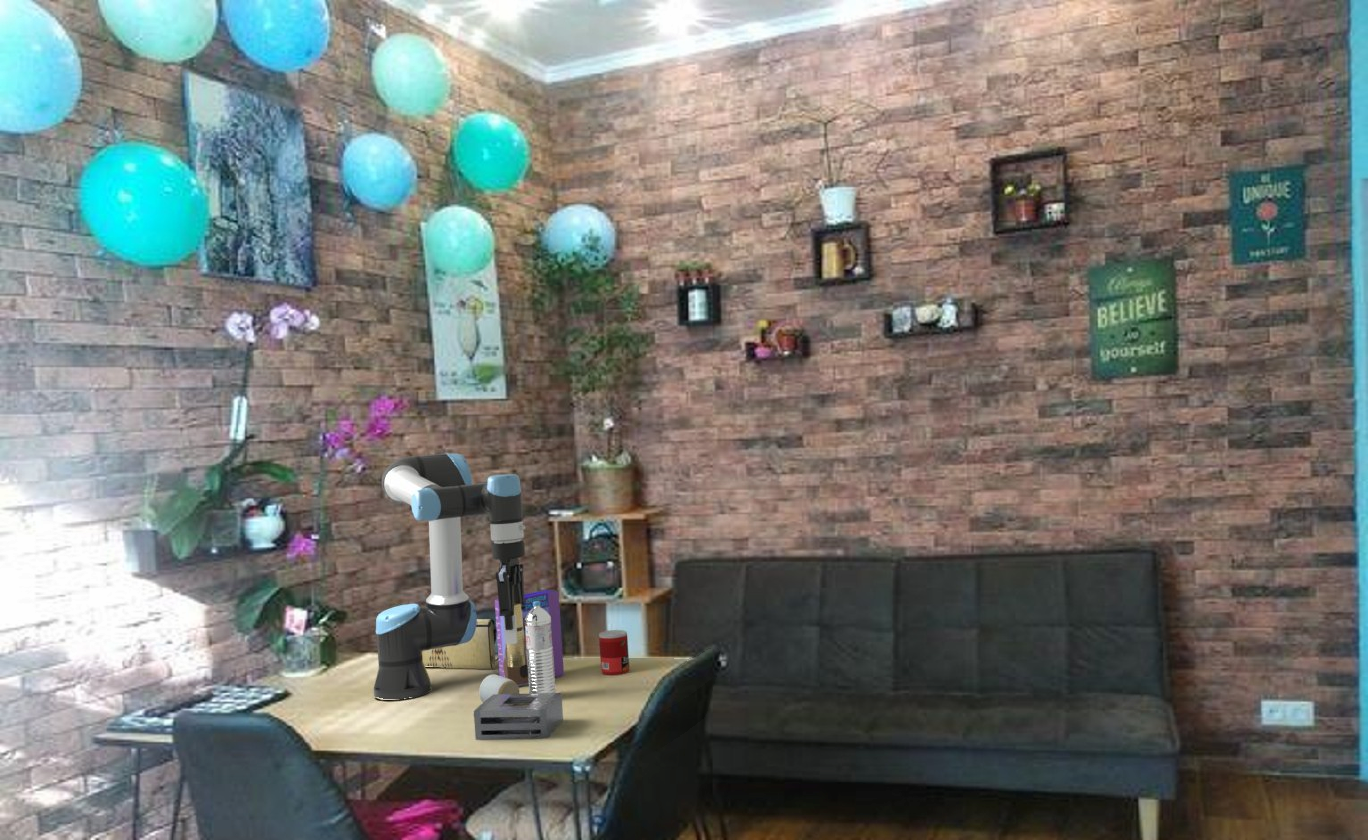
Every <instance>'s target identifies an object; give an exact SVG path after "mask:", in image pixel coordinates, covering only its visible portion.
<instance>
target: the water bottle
mask: <svg viewBox="0 0 1368 840" xmlns="http://www.w3.org/2000/svg"><path fill="white" fill-rule="evenodd" d="M533 606H534V608H533V609H531V610H530V611H529V612H528V614H527V615H526V617H525V619H524V624H525V631H526V646H527V649H526V652H527V666H528V680H529V681H528V683H529V685H528V694H530V693H557V692H556V691H557V689H556V678H555V675H554V674H555V672H554V661H553V660H554V658H553V646H552V635H551V617H550V615H549V614H548V612H547V611H545V610H544V609H543V608H541V607H540V601H535V602H533Z"/></svg>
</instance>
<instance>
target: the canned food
mask: <svg viewBox="0 0 1368 840" xmlns="http://www.w3.org/2000/svg"><path fill="white" fill-rule="evenodd" d="M628 640H629V639H628V632H627V631H626V630H624V629H623V630H622V629H612V630H610V629H609V630H605V631H602V632H599V633H598V645H599V657H600V671H601V673H602V674H603V675H605V674H606V676H619V674H620V675H624V674H626V672H627V673H629V671H630V670H629V669H630V659H629V657H630V656H629V644H628V643H629V642H628ZM623 673H624V674H623Z"/></svg>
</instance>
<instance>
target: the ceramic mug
mask: <svg viewBox="0 0 1368 840" xmlns="http://www.w3.org/2000/svg"><path fill="white" fill-rule="evenodd" d="M493 694H520V687H518V685H517V684H516V683H515V682H514V681H512V680H510V679H507V678H504V677H501V676H500V674H499V675H498V674H494V673H493V674H489V675H487V676H486V677H484V679H483V680H482V681H481V683H480V685H479V689H478V695H479V699H480V701H481V702H482V704H483V703H484V702H485V701H486V700H487V699H488V698H489V697H491V696H492V695H493ZM508 706H515V704H509V705H508Z"/></svg>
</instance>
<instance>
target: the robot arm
mask: <svg viewBox="0 0 1368 840" xmlns="http://www.w3.org/2000/svg"><path fill="white" fill-rule="evenodd" d="M381 487H382V490H383V492H384V493H385V495H387V496H388V497H389V498H390V499H392V500H393V501H396V502H404V503H406V504H408V505H409V506H411V511H412V515H413V517H414V519H415V520H416V521H418V522H426V521H427V522H428V531H429V532H428V535H429V536H428V537H429V564H430V566H429V568H430V586H431V587H430V589H431V590H430V591H431V592H430V595H428V596H427V598H426V599H425V607H420V606H419V604H418V603H408V604H401V605H397V606H394V607H393V606H392V607H390V608H388V609H385V610H382V611H381V612H380V613H378V615H377V617H376V619H375V620H376V621H375V634H376V644H377V645H376V646H377V647H376V648H377V661H378V669H377V673H376V678H375V681H374V686H373V697H374V696H375V697H379V698H383V699H404V698H409V697H414V698H417V697H421V696H423V695H426V694H428V693H430V692H431V691H430V690H432V681H431V678H430V675H429V673H428V671H427V668H425V666H424V664H423V656H422V651H425V650H431V649H437V648H442V647H448V646H457V645H459V644H463V643H467V642H469V641H470V640H471V639H472V637H473V636H474V633H475V630H476V624H477V619H478V618H477V616H478V615H477V612H476V611H477V609H476V605H475V603H474V602H473V601H472V600H469V595H468V594H467V593H466V592H464V590H463V589H464V585H463V583H464V582H463V558H462V557H463V555H462V530H461V529H462V527H461V518H464V517H473V516H474V517H475V516H483V515H489V527H490V540H491V542H492V544H491V553H492V554H491V555H492V559H493V560H499V562H500V563H499V568H498V572H495V579H496V587H497V599H498V600H499V616H504V630H505V644H517V643H518V639H517V625H516V615H514V603H520V604H521V610H525V609H526V606H524V605H525V597H524V594H525V584H524V583H525V581H524V568H525V565H524V563H520V561H519V558H524V556H525V555H526V548H525V541H524V540H522V539H523V538H524V536H525V534H524V530H525V529H526V526H525V525H524V522H523V506H522V504H523V503H522V487H521V481H520V477H519V475H518V474H515V473H512V474H511V473H509V474H496V475H490V476H489V477H487V480H486V481H482V482H480V483H473V477H472V472H471V468H470V465H469V463H468V461H467V460H466V457H465V456H464V455H462V454H460V453H445V452H444V453H435V454H425V455H415V456H413V455H412V456H406V457H402V458H399V459H397V460H395V461H393V463H391V464H389V466H387V468H385V470H384V472H383V474H382V477H381ZM521 612H522V611H521ZM522 626H523V617H522ZM523 639H524V631H523ZM404 700H405V699H404Z"/></svg>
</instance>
